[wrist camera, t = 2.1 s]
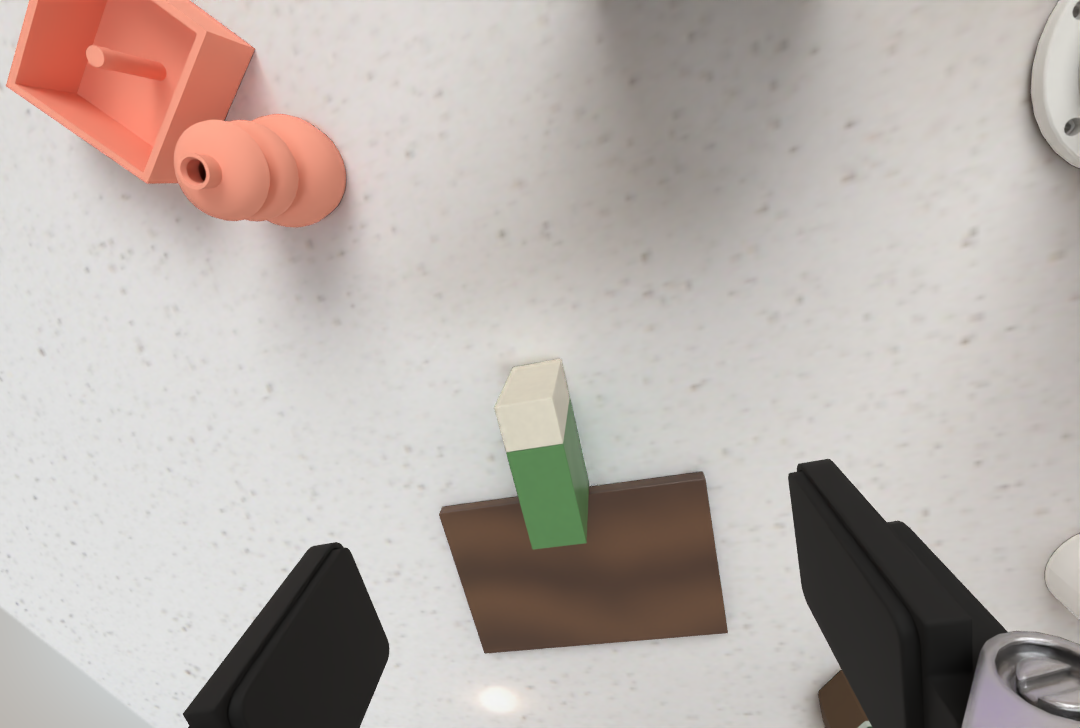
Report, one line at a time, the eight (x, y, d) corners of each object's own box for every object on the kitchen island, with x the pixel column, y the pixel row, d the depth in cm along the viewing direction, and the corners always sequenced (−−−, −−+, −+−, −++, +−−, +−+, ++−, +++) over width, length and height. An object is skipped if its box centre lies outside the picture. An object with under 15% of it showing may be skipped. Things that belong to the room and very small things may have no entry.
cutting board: (442, 506, 42) (438, 514, 41) (702, 471, 38) (705, 478, 37) (486, 644, 46) (484, 653, 45) (725, 623, 43) (728, 633, 42)
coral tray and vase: (74, 96, 34) (-119, 66, 25) (121, -51, 31) (-79, -146, 22) (312, 263, 36) (214, 292, 27) (378, 140, 33) (294, 127, 24)
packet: (512, 366, 37) (493, 407, 31) (561, 358, 37) (552, 397, 30) (543, 489, 40) (532, 549, 34) (589, 483, 40) (586, 543, 33)
